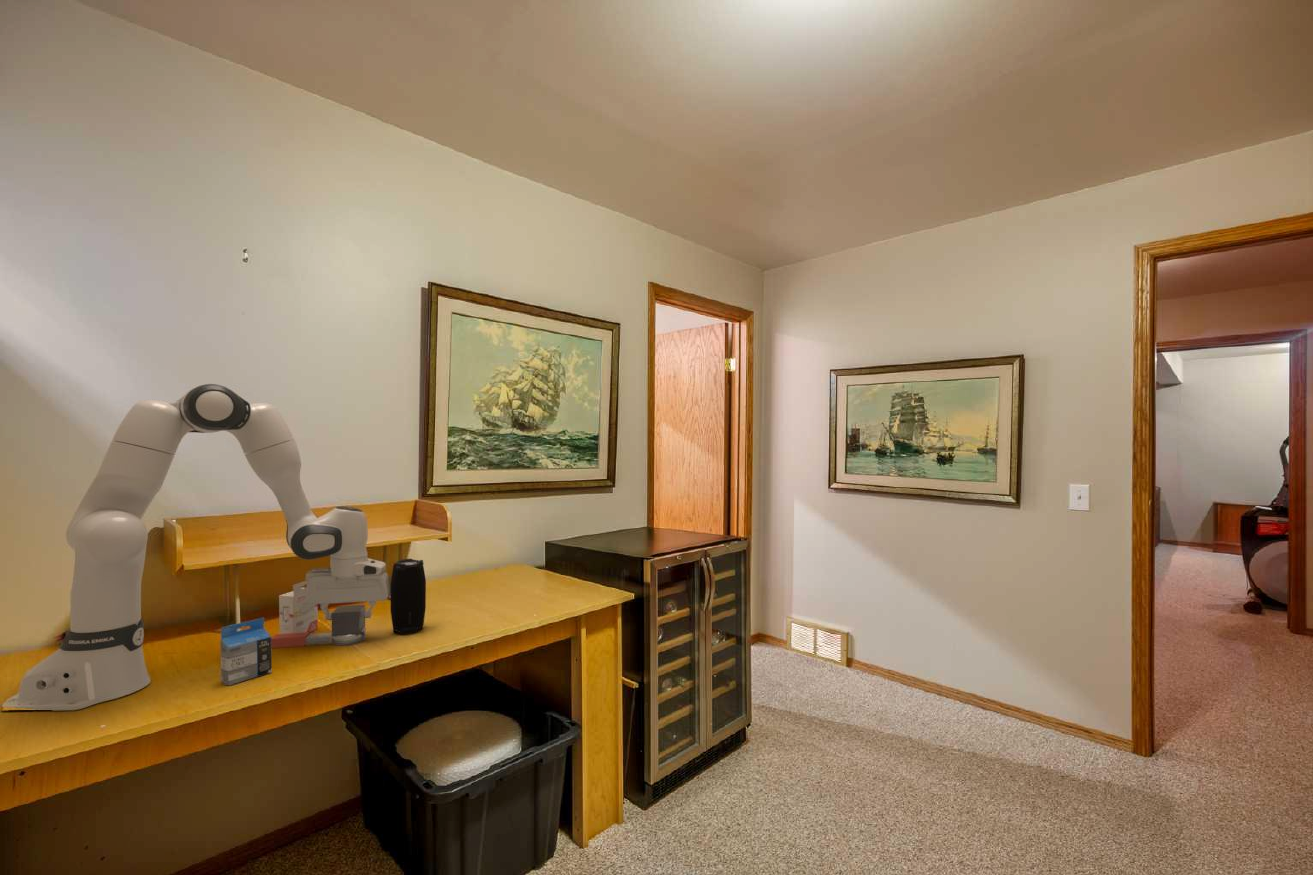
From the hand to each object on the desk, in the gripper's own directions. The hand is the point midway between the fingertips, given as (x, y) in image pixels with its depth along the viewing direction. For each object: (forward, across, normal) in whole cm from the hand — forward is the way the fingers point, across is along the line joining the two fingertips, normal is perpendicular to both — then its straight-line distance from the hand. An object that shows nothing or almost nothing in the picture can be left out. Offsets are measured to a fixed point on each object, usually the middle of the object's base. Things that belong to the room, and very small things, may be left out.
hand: (348, 618), depth 156 cm
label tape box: (+6, -16, -21) cm, 27 cm away
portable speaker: (+6, +14, +5) cm, 16 cm away
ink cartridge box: (+6, -15, +9) cm, 19 cm away
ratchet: (+6, -7, 0) cm, 9 cm away
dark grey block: (+3, 0, 0) cm, 3 cm away
